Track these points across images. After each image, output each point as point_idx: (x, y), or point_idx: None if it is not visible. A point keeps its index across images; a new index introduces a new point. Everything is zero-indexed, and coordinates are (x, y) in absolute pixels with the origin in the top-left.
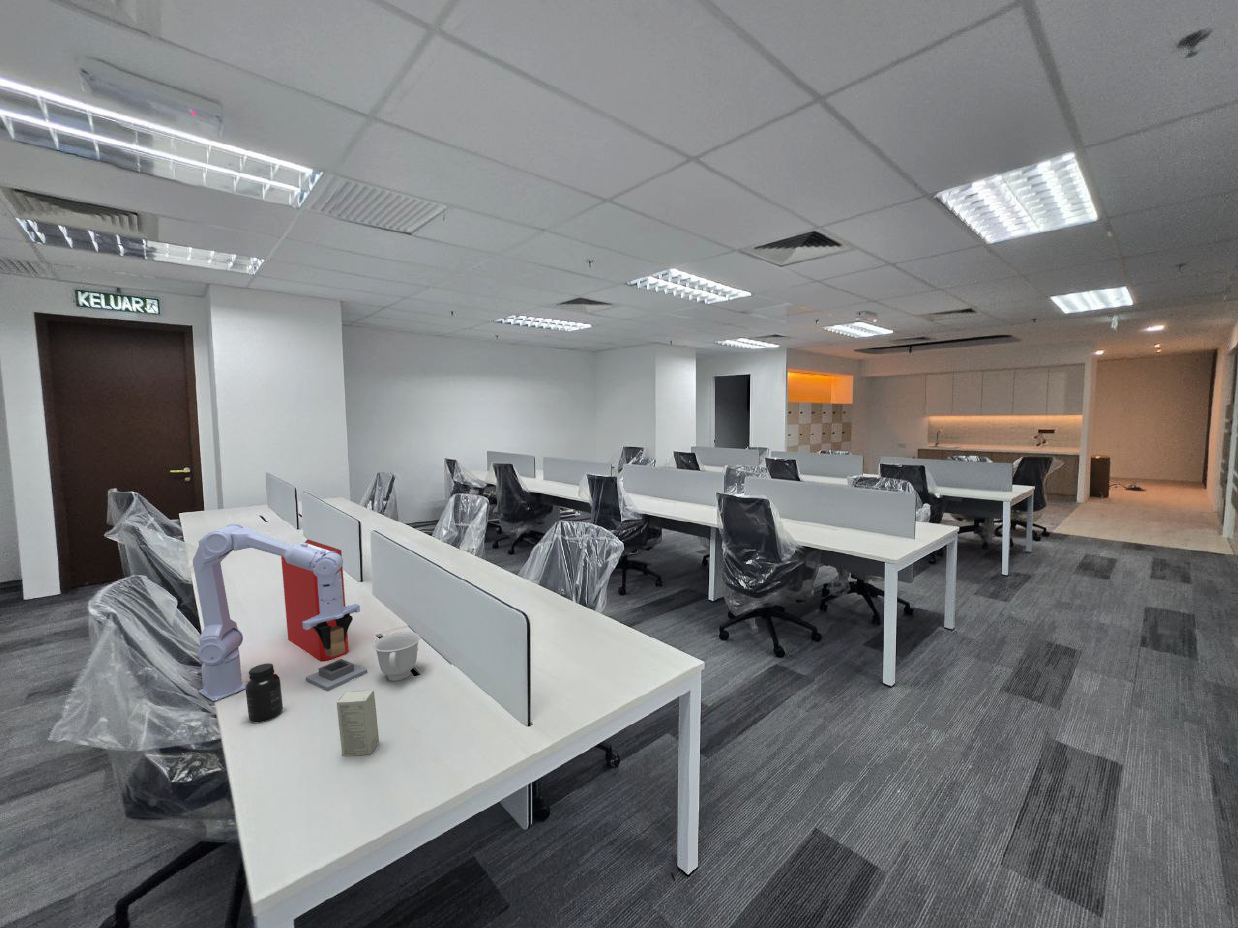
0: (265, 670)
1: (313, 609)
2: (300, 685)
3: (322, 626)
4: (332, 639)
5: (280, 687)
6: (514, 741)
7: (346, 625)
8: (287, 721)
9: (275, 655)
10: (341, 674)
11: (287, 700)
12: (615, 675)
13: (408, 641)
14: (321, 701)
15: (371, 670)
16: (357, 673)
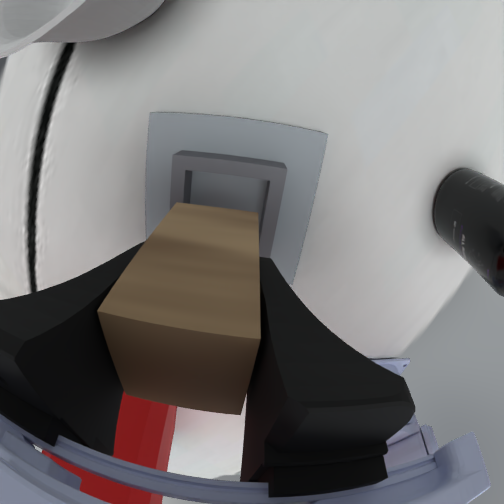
0: None
1: (153, 494)
2: (320, 264)
3: (346, 445)
4: (244, 276)
5: (495, 203)
6: None
7: (58, 304)
8: (470, 119)
9: (223, 415)
10: (238, 156)
11: (401, 218)
12: None
13: (12, 8)
14: (381, 96)
15: (137, 114)
16: (192, 115)
